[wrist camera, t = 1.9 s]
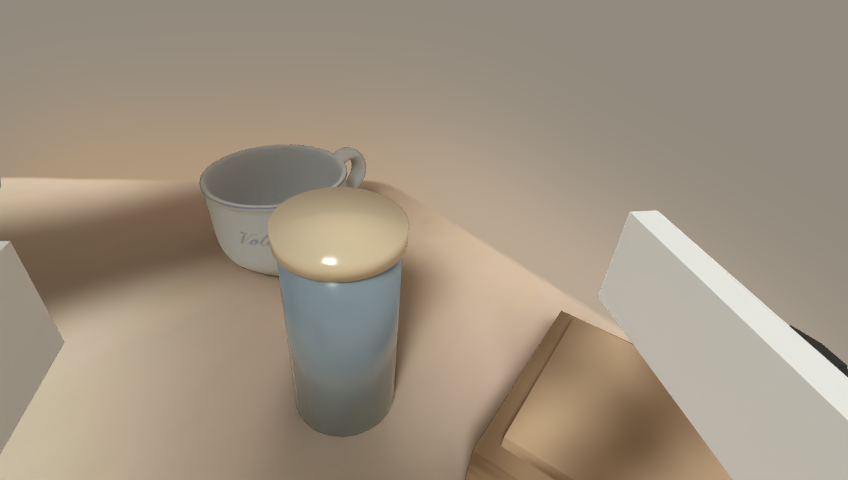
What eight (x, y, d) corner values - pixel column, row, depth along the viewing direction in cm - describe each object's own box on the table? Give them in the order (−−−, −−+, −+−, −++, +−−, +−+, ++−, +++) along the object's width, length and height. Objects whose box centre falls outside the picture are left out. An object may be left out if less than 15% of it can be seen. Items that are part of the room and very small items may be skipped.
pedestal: (462, 492, 24) (475, 440, 22) (547, 351, 33) (564, 301, 30) (710, 666, 19) (769, 628, 16) (735, 447, 28) (776, 397, 25)
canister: (269, 400, 28) (236, 224, 21) (342, 337, 32) (335, 175, 25) (350, 461, 25) (345, 284, 18) (417, 383, 30) (435, 217, 22)
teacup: (244, 313, 34) (225, 221, 29) (201, 238, 40) (180, 154, 36) (403, 254, 41) (408, 172, 36) (343, 199, 48) (341, 124, 43)
